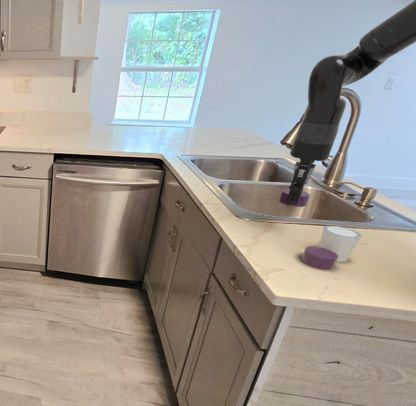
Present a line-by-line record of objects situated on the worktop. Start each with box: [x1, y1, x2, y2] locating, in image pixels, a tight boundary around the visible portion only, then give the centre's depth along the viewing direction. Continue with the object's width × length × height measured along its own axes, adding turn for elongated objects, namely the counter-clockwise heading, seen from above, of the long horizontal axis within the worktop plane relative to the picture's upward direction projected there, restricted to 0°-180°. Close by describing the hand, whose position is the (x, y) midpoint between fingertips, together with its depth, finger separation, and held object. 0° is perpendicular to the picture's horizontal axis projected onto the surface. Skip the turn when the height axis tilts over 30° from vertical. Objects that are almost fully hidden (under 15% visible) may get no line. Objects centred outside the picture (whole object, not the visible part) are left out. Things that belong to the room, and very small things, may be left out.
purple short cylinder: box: [300, 245, 338, 271], centre depth 89 cm, size 6×6×3 cm
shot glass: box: [318, 225, 362, 263], centre depth 90 cm, size 7×7×7 cm
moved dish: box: [277, 188, 311, 208], centre depth 99 cm, size 6×6×3 cm
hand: (293, 199), depth 99 cm, fingers closed on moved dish, 6 cm apart
